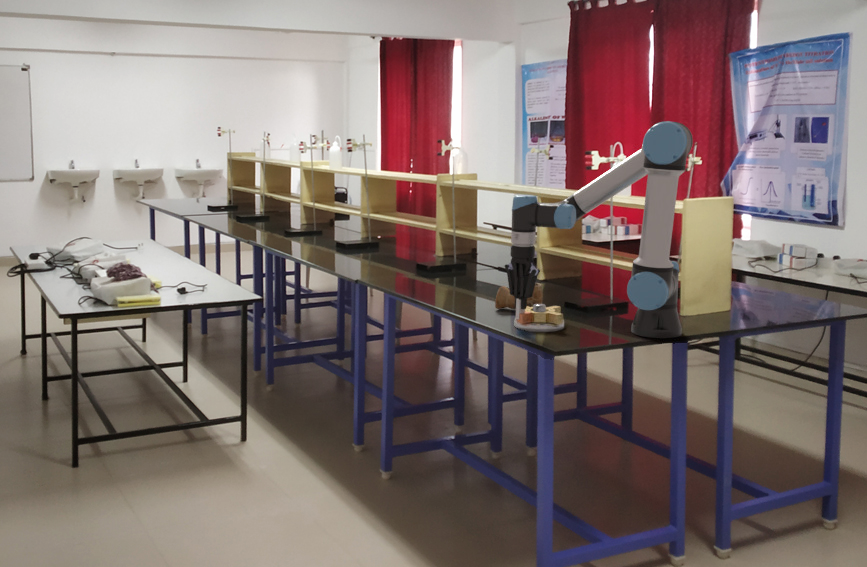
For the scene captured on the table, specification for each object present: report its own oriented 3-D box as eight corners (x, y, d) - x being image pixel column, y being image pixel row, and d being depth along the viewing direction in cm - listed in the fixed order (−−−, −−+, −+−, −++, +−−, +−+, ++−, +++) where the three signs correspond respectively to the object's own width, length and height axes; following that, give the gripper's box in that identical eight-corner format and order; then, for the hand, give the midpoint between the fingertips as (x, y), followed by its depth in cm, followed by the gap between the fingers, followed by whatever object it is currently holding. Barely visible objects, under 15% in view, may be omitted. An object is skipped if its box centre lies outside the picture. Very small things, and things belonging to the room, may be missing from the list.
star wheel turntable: (515, 320, 283) (516, 299, 282) (564, 321, 280) (564, 300, 279) (512, 331, 267) (512, 309, 266) (563, 333, 265) (564, 311, 263)
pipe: (501, 306, 304) (501, 279, 302) (545, 310, 298) (546, 282, 296) (493, 311, 296) (494, 283, 294) (538, 315, 290) (539, 286, 288)
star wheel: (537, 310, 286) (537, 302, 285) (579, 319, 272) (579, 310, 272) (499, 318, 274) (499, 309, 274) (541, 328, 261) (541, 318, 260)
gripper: (499, 243, 267) (497, 316, 271) (530, 248, 257) (527, 324, 262) (515, 241, 271) (513, 313, 276) (546, 246, 262) (543, 320, 267)
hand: (520, 318), depth 269 cm, fingers closed
